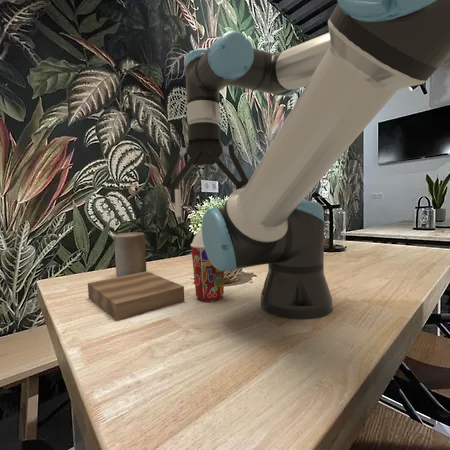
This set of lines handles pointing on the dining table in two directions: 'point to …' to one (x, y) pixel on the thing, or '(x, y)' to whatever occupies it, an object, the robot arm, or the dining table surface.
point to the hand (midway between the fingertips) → (206, 216)
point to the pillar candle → (130, 253)
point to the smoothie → (205, 273)
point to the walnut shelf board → (134, 294)
